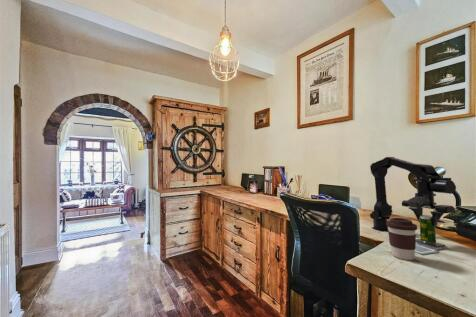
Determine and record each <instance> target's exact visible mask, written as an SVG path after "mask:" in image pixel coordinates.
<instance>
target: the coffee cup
mask: <svg viewBox="0 0 476 317" xmlns="http://www.w3.org/2000/svg"><path fill="white" fill-rule="evenodd" d="M386 225H387V226H388V229H389V230H387V232H388V240H389V245H390V251H391V255H392V256H393V257H394V258H397V259H399V260H400V259H401V260H405V261H413V260H415V254H416V253H415V248H416V239H417V238H416V237H417V234H416V231H417V230H418V225H417V224H415V223H413V221H412V220H411V219H408V218H403V217H390V219H389V220H387V222H386Z"/></svg>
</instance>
